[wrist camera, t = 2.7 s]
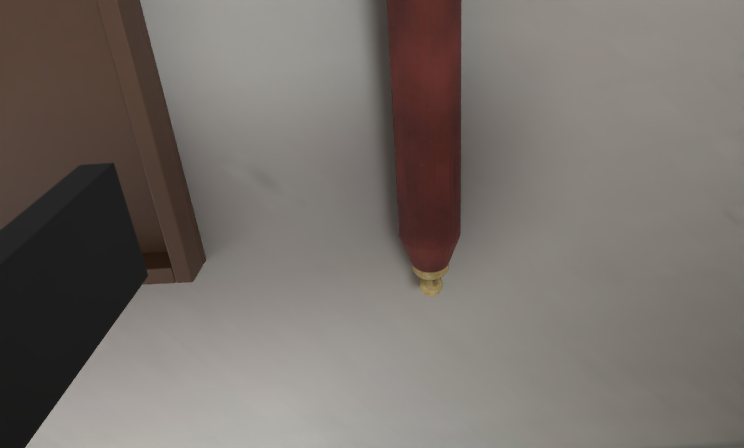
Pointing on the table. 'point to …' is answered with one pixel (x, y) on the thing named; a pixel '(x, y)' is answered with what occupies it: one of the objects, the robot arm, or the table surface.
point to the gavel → (427, 131)
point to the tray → (93, 120)
